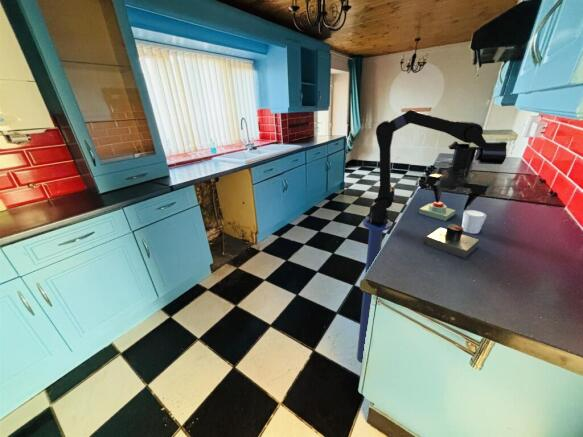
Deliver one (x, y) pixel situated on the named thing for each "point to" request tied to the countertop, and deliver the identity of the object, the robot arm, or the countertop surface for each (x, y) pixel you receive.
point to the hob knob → (454, 232)
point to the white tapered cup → (473, 221)
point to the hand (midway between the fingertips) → (450, 206)
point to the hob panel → (452, 243)
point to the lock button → (438, 204)
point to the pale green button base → (437, 212)
